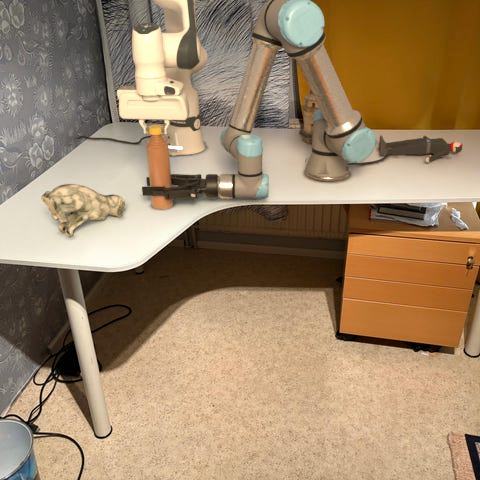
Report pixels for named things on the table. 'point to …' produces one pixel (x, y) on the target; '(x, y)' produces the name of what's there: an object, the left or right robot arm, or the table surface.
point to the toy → (420, 147)
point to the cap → (155, 129)
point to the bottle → (159, 169)
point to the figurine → (80, 205)
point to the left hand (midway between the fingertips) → (156, 133)
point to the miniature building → (308, 116)
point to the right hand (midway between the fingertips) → (144, 186)
